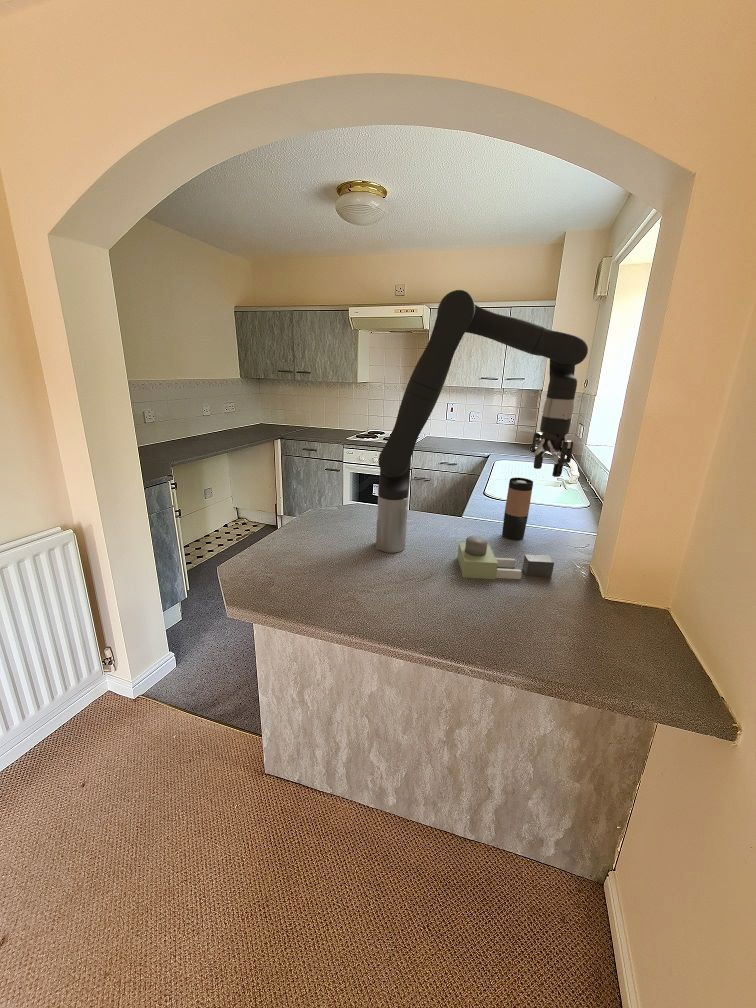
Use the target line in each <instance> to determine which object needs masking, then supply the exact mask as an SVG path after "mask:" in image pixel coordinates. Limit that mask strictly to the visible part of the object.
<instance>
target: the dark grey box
mask: <svg viewBox="0 0 756 1008" xmlns="http://www.w3.org/2000/svg"><path fill="white" fill-rule="evenodd" d="M554 567H555V561H554V560H553V559H552V558H551V556H550V555H540V554H538V555H536V554H524V557H523V563H522V567H521V571H522V572H523V574H524V576H525V577H526V578H543V579H545V578H546V579H551V578H552V576H553V573H554V572H553V571H554Z"/></svg>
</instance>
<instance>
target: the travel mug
mask: <svg viewBox="0 0 756 1008" xmlns="http://www.w3.org/2000/svg"><path fill="white" fill-rule="evenodd" d="M533 487H534V481H533V480H531V479H529V478H526V477H511V478H509V481H508V488H507V495H506V501H505V505H504V506H505V507H504V512H503V513H504V516H503V522H502V532H501V533H502V537H503V538H505V539H508V540H513V541H520V540H523V539H524V537H525V532H526V528H527V522H528V518H529V512H530V505H531V499H532V494H533Z"/></svg>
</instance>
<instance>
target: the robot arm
mask: <svg viewBox="0 0 756 1008" xmlns="http://www.w3.org/2000/svg"><path fill="white" fill-rule="evenodd" d="M437 307H438V308H437V310H436V318H435V322H434V325H433V328H432V332H431V335H430V338H429V340H428V342H427V345H426V346H425V349H424V350H423V352H422V354H421V355H420V358H419V359H418V361H417V363H416V364H415V367H414V369H413V371H412V373H411V375H410V377H409V380H408V382H407V385H406V387H405V390H404V393H403V396H402V398H401V402H400V405H399V409H398V413H397V416H396V420H395V424H394V426H393V429H392V431H391V433H390V436H389V437H388V439H387V441H386V443H385V445H384V446H383V447H382V450H381V451H380V453H379V455H378V461H377V462H378V467H379V470H380V471H379V482H378V486H377V487H378V490H377V495H378V496H377V517H376V518H377V519H376V530H375V531H376V534H375V537H376V538H375V550H377V551H380V552H385V553H399V552H400V553H401V552H403V551H404V550H405V549H406V542H407V525H408V510H409V509H408V507H409V506H408V505H409V491H410V481H411V466H412V465H411V464H412V456H413V453H414V449H415V447H416V443H417V442H418V439H419V436H420V434H421V432H422V431H423V429H424V427H425V425H426V424H427V422H428V420H429V418H430V416H431V414H432V413H433V410H434V409H435V406H436V405H437V401H438V400H439V397H440V395H441V392H442V390H443V387H444V385H445V382H446V379H447V377H448V374H449V371H450V367H451V364H452V361H453V359H454V355H455V352H456V351H457V349H458V347H459V344H460V342H461V340H462V339H463V337H464V335H465V333H466V334H472V335H477V336H480V337H483V338H486V339H490V340H492V341H495V342H497V343H500V344H502V345H505V346H508V347H510V348H512V349H516V350H518V351H521V352H524V353H527V354H529V355H532V356H538V357H545V358H547V359H549V372H548V373H549V383H548V386H547V393H546V398H545V401H544V405H543V410H542V416H541V420H540V421H541V422H540V426H539V431H540V432H534V433H533V437H532V443H531V448H530V452H531V453H533V455H534V460H533V469H536V470H541V469H542V465H543V462H544V461H543V460H544V455H545V454H546V453H547V452H548V453H549V454H551V457H553V458H554V465H553V468H552V469H553V470H552V477H553V478H559V477H561V476H562V473H563V468H564V465H565V464H569V463H571V462H572V461H571V460H572V453H573V448H574V441H573V440H566V435H568V434H569V433H570V427H571V422H572V418H573V413H574V406H575V404H574V403H575V397H576V392H577V387H578V379H577V378H576V377H575V371H576V366H577V365H579V364H580V363H582V362H583V361H584V360H585V359H586V358H587V355H588V354H589V353H588V351H589V348H588V344H587V343H586V341H585V340H584V339H583V338H582V337H579V336H576V335H575V334H574V335H572V334H570V333H565V332H562V331H557V330H553V329H549V328H548V327H545V326H544V325H543V326H542V325H541V324H537V323H535V322H531V321H529V320H525V319H522V318H517V317H513V316H509V315H504V314H499V313H496V312H492V311H489V310H487V309H485V308H482V307H480V306H479V305H477V304H476V303H475V300H474V298H473V297H472V295H471V294H470V293H469V292H468V291H467V290H463V289H455V290H452V291H450V292H448V293H446V295H445V296H443V297H442V299H441V301H440V302H439V304H438V306H437Z"/></svg>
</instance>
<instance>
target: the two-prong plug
mask: <svg viewBox="0 0 756 1008" xmlns="http://www.w3.org/2000/svg"><path fill="white" fill-rule="evenodd" d="M456 558H457V561H458V565H459V568H460V572H461V575H462V578H467V579H469V578H471V579H472V578H473V579H484V580H485V579H486V580H488V579H489V580H496V579H509V580H521V578H522V572H523V571H522V569H519V568H518V569H517V568H515V566H516V561H517V560H516V559H515V558H507V557H496V556H495V553H494V551H493V550H492V547H491V545H490V544H489V542H488V539H486V538H484V537H482V536H478V535H472V536H467V537H466V538H465V542H458V549H457V557H456Z"/></svg>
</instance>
